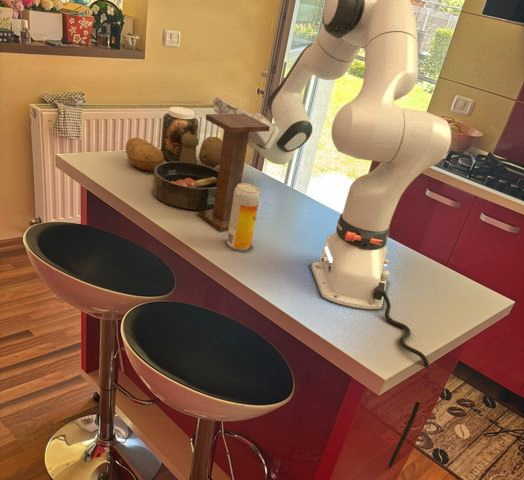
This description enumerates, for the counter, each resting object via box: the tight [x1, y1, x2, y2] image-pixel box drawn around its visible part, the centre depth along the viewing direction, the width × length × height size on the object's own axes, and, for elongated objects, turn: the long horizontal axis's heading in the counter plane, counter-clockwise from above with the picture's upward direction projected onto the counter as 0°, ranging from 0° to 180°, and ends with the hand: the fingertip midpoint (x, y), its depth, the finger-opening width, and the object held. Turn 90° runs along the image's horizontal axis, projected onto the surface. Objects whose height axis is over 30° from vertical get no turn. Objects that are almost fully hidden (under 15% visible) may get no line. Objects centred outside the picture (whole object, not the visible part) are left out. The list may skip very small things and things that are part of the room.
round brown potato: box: [198, 136, 223, 169], centre depth 175 cm, size 9×9×10 cm
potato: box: [125, 137, 165, 172], centre depth 164 cm, size 10×14×8 cm
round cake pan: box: [152, 161, 219, 211], centre depth 153 cm, size 20×20×6 cm
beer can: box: [226, 182, 261, 251], centre depth 131 cm, size 6×6×15 cm
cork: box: [179, 134, 199, 163], centre depth 169 cm, size 6×6×11 cm
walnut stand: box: [197, 113, 270, 232], centre depth 139 cm, size 12×10×26 cm
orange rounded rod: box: [170, 177, 217, 188], centre depth 154 cm, size 16×4×4 cm, turn 127°
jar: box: [160, 106, 199, 162], centre depth 176 cm, size 12×12×15 cm
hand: (225, 105), depth 146 cm, fingers open, 8 cm apart
